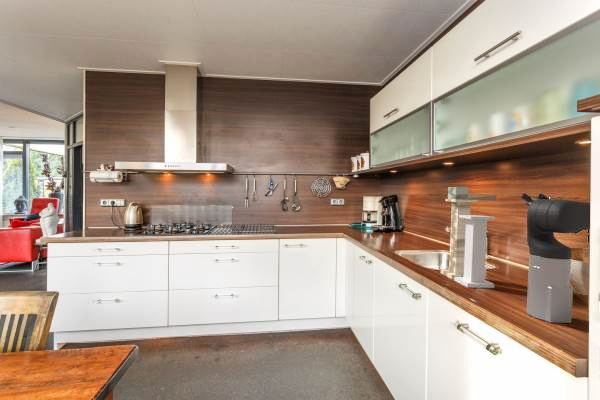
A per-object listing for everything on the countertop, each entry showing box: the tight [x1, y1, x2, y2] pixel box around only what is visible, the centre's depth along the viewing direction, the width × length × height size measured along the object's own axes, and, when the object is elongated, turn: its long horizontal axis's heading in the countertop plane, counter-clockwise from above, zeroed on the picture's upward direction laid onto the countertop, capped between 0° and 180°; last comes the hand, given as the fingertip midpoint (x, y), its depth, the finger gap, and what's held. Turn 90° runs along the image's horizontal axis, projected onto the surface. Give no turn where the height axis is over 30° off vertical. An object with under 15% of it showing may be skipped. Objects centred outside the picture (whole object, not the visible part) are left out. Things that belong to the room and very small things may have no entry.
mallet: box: [447, 186, 497, 201], centre depth 128 cm, size 6×18×5 cm, turn 92°
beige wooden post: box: [440, 198, 479, 280], centre depth 129 cm, size 9×10×32 cm
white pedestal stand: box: [453, 214, 496, 289], centre depth 118 cm, size 9×10×26 cm
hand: (529, 195), depth 124 cm, fingers open, 8 cm apart
